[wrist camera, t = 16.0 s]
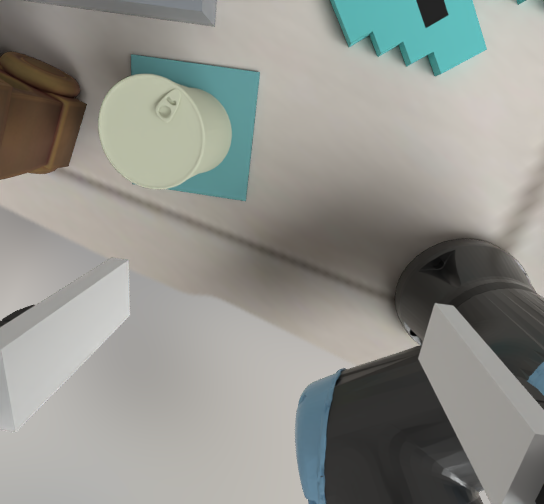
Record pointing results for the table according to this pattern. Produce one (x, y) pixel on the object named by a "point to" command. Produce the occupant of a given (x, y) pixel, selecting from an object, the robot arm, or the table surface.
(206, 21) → the crate
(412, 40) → the alien figure
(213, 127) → the can
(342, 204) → the table surface
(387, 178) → the table surface
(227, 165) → the mat
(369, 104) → the table surface
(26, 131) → the wooden toy train
